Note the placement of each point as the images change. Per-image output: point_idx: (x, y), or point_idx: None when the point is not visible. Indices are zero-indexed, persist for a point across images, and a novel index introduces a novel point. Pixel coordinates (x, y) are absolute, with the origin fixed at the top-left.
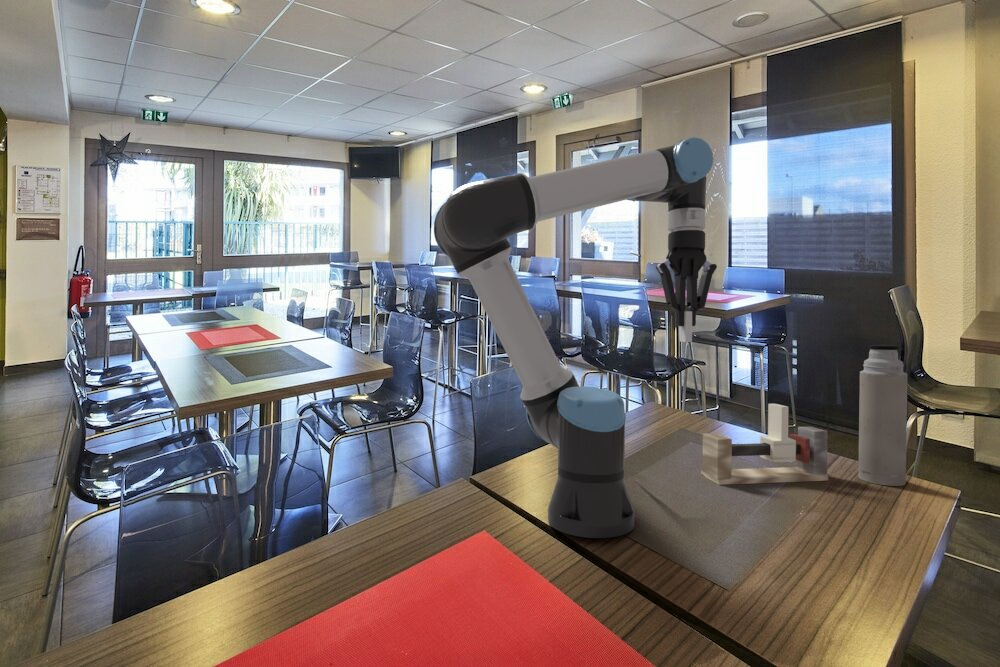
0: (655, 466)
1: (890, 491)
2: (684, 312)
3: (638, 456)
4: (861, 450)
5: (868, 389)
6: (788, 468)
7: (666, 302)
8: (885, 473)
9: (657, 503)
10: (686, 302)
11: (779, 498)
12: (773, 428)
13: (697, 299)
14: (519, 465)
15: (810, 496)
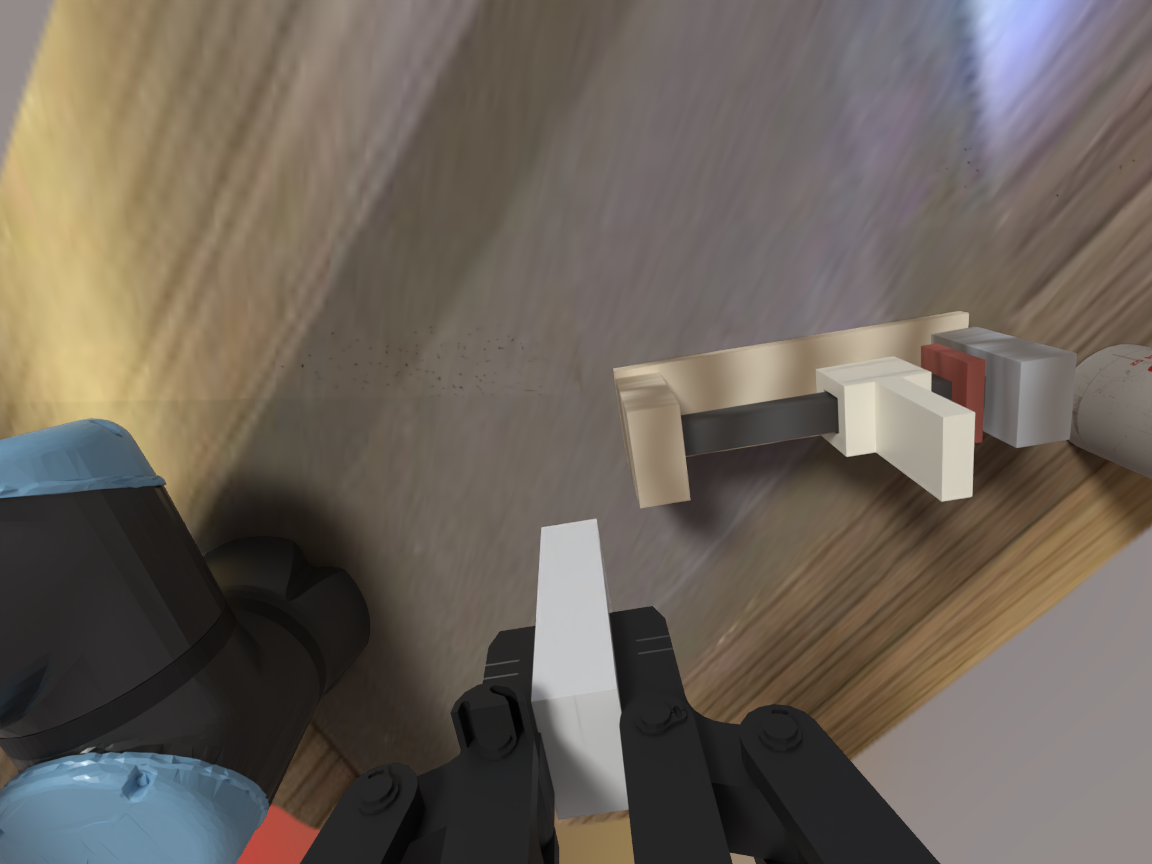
0: (493, 271)
1: (1044, 492)
2: (554, 786)
3: (457, 120)
4: (1129, 420)
5: None
6: (900, 338)
7: (315, 842)
8: (1102, 457)
9: (430, 601)
10: (627, 796)
11: (730, 556)
12: (892, 420)
13: (808, 834)
14: (20, 279)
15: (814, 539)
